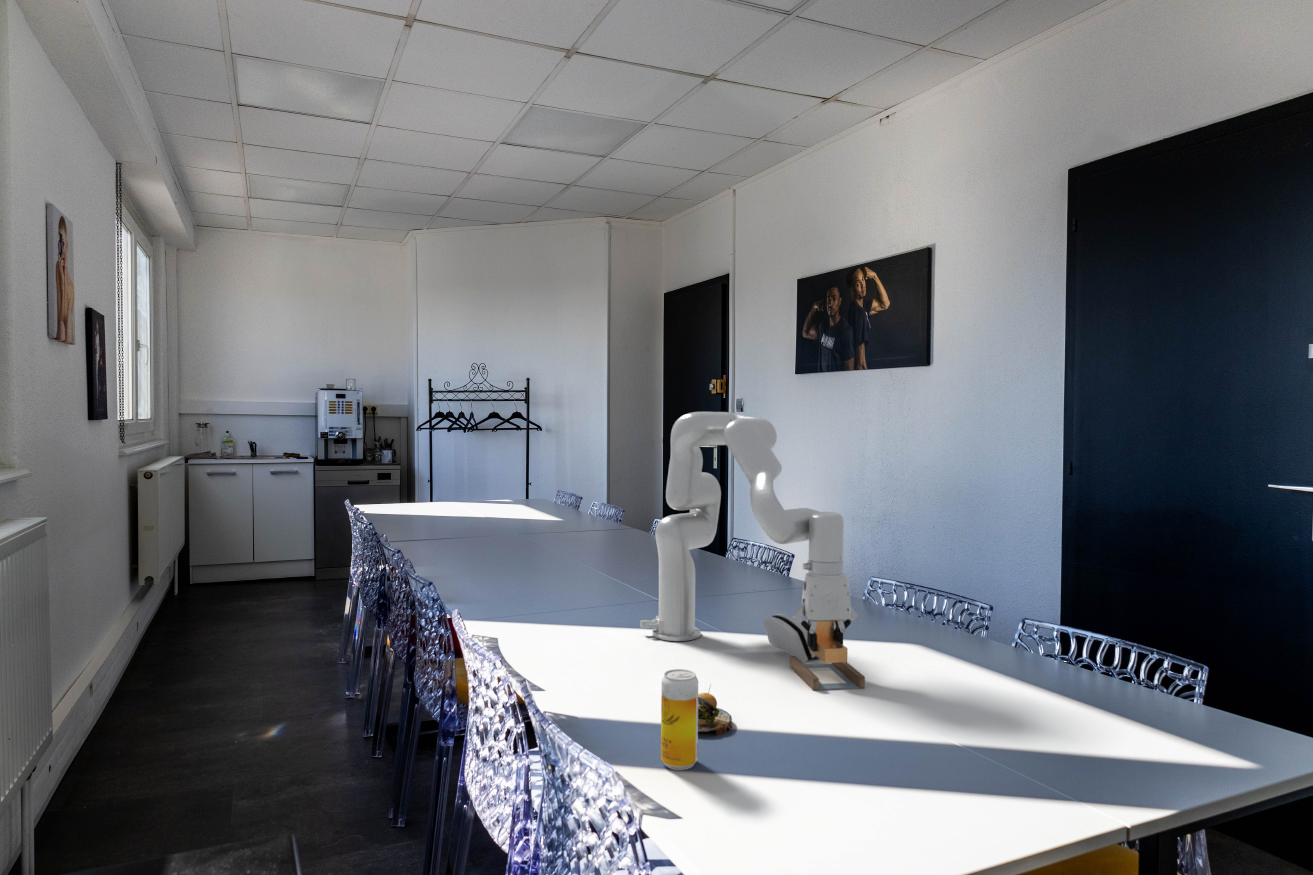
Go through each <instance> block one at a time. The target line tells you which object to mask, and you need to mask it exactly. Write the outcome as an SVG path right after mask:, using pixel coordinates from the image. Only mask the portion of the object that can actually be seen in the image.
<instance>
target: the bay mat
mask: <svg viewBox="0 0 1313 875" xmlns="http://www.w3.org/2000/svg"><path fill="white" fill-rule="evenodd" d="M804 665H805V666H806V667H807V668H808V669H809V670H810V671H811V672H812V673H814V674H815V675H816V676H817V677H818V678H819V690H818V691H832V690H855V689H857V690H858V689H859V687H858V686H857V685H856V684H855V683H853V682H852V681H851V680H850V679H849V678H848V677H846V676H845V675H844V674H843V673H842V672H841V671H839V670H838V669H837V668H836V667H835V666H834V665H832V663H817V664H804ZM859 690H860V689H859Z"/></svg>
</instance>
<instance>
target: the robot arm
mask: <svg viewBox="0 0 1313 875" xmlns="http://www.w3.org/2000/svg"><path fill="white" fill-rule="evenodd" d="M777 437H778V435H777V431H776V428H775V426H774V425H773V424H772V423H771V422H770V421H769V420H767V419H765V418H762V417H756V416H750V415H746V414H740V413H735V412H729V411H728V412H727V411H694V412H693V411H692V412H688V413H686V414H683V415H681V416H680V417H679V418H677V420H675V422H674V424H673V425H672V428H671V432H670V459H669V464H668V472H667V473H668V474H667V479H666V487H665V488H666V489H665V499H666V500H665V501H666V503H667V505H668V506H669V508H671V509H673V510H676V511H688V510H689V512H686V513H677V514H670V515H667V516H665V517H662V518H661V520H660V521H658V523H657V525H656V526H655V527H656V528H655V530H654V532H655V533H654V536H655V541H656V547H657V555H658V556H657V557H658V615H655V618H652V620H650V619H649V620H648V619H644V620H643V619H641V620H640V628H641V629H642V628H643V629H644V628H646V630H652V636H653V637H654V638H656V639H658V640H661V641H662V640H663V641H667V642H686V641H692V640H696V639H699V638H700V637H701V633H702V632H701V629H699V627H696V624H695V623H696V567H695V566H696V565H695V561H694V559H693V557H692V554H691V550H695V549H700V548H704V547H707V546H709V545H710V544H711V543H713V541H714V539H715V536H716V534H717V529H718V522H719V516H720V515H719V514H720V507H721V499H722V497H721V496H722V490H721V485H720V483H719V481H718V479H717V478H716V477H715V475H713V474H711V473H709V472H703V470H702V469H703V464H704V463H703V462H704V459H703V458H704V457H703V453H702V450H701V448H700V447H701V446H726V447H727V449H729V451H730V453H731V454H732V456H733V458H734V459H735V460H736V462H737V465H738V466H739V467H740V469H741V471H742V472H743V475H745V477H746V479H747V480H748V482H749V485H750V487H749V488H750V490H749V498H750V505H751V509H752V512H753V515H754V517H755V518H756V521H757V522H758V523H759V525H760V528H761V529H762V530H763V532H764V533H765V534H766V536H767V537H768V538H769V539H770V540H771V541H772V542H774V543H776V544H779V545H789V544H794V543H799V542H805V541H808V559H807V562H805V563H802V569H803V570H806V571H808V572H807V573H805V576H804V580H803V585H802V586H803V587H802V595H801V605H800V606H799V608H798V609H797V610H796V611H795V612H794V614H793V615H792V618H793V619H795V620H796V621H797V622H798V623H800V624H801V625H802V626H803V627H804V628H805V629H806V630H807V645H808V647H809V648H810V649H811V650H812V651H813V652H816V651H817V634H816V633H815V629H816V625H817V622H818V621H834V639H836V640H837V641H838V642H840V643H841V644H843V645H844V633H845V632H846V630H847V628H848V627H849V626H850V625H851V624H852V623H853V622H854V621H855V620H856V619H858V616H859V614H858V613H857V612H856V611H855V609H854V608H853V607H852V606H851V604H852V603H851V602H852V601H851V592H850V584H849V579H848V575H847V574H846V573H844V532H845V531H844V528H845V527H844V523H845V522H844V521H845V520H844V517H843V515H842V514H841V513H839V512H835V511H819V510H817V509H812V508H808V507H800V508H791V509H785V508H784V507H783V505H782V504H781V502H780V501H779V499H778V497H777V494H776V492H775V489H774V481H775V480H776V479H777V478H778V476H780V474H781V472H782V464H781V462H780V460H778V458H777V456H776V454H775V453H774V451H773V450H772V449H773V448H774V447H775V445H776V442H777ZM803 616H804V617H805V618H806V619H807V620H804V618H803Z"/></svg>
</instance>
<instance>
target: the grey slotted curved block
mask: <svg viewBox="0 0 1313 875" xmlns="http://www.w3.org/2000/svg"><path fill="white" fill-rule="evenodd" d="M763 623H764V628H765V632H766V635H767V639H768V642H769V644H770V645H772V646H774V647H776V648H777V649H779V650H781V651H783V652H785V653H786V654H788V655H789V656H795V657H797V658H798V659H799V660H800V661H801V662H802V663H803V662H808V661H809V658H812V659H814V658H816V659H818V660H821V659H820V658H819V657H817V656H816V655H815V654H814V653H813V652H811V651H810V650H809V647H808V645H807V630H806V629H805V628H804V627H803V626H802V625H801V624H800V623H798V622H797V621H796V620H795V619H793V616H792V617H791V615H788V614H785V613H776V614H773V615H771V616H769V617H767V618H765V620H763Z"/></svg>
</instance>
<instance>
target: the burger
mask: <svg viewBox="0 0 1313 875" xmlns="http://www.w3.org/2000/svg"><path fill="white" fill-rule="evenodd" d="M711 685H712V684H710V686H709V687H711ZM710 689H711V688H709V689H708V692H701V693H698V733H699V732H702V733H703V732H706V733H708V732H714V731H715V732H716V733H715V734H716V736H722V735H723V734H726V732H727V728H728V729H729V731H730V730H732V729H733V718H732V715H731V714H730V713H728V711H726V710H724V709H722V708H718V707H717V706H718V702H717V699H716V697H715V695H713V694H711V693H710Z"/></svg>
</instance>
